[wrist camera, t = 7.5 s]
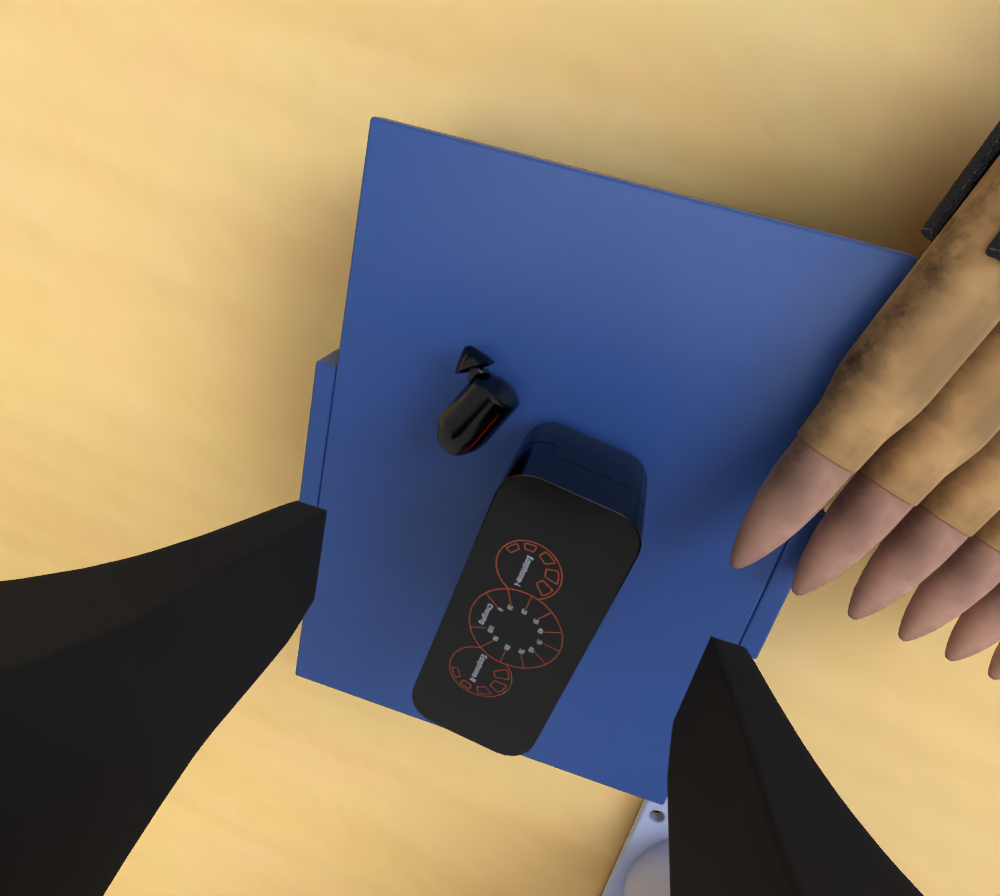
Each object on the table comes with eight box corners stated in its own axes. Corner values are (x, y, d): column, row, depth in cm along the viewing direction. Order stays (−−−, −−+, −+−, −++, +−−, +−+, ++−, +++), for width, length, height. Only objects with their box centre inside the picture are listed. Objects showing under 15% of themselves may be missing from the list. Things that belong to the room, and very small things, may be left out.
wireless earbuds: (675, 424, 15) (674, 490, 12) (548, 665, 18) (523, 765, 15) (472, 336, 15) (423, 380, 12) (380, 589, 18) (325, 671, 16)
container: (681, 694, 23) (682, 813, 19) (345, 581, 24) (277, 669, 20) (882, 236, 17) (948, 264, 13) (421, 118, 18) (346, 109, 14)
